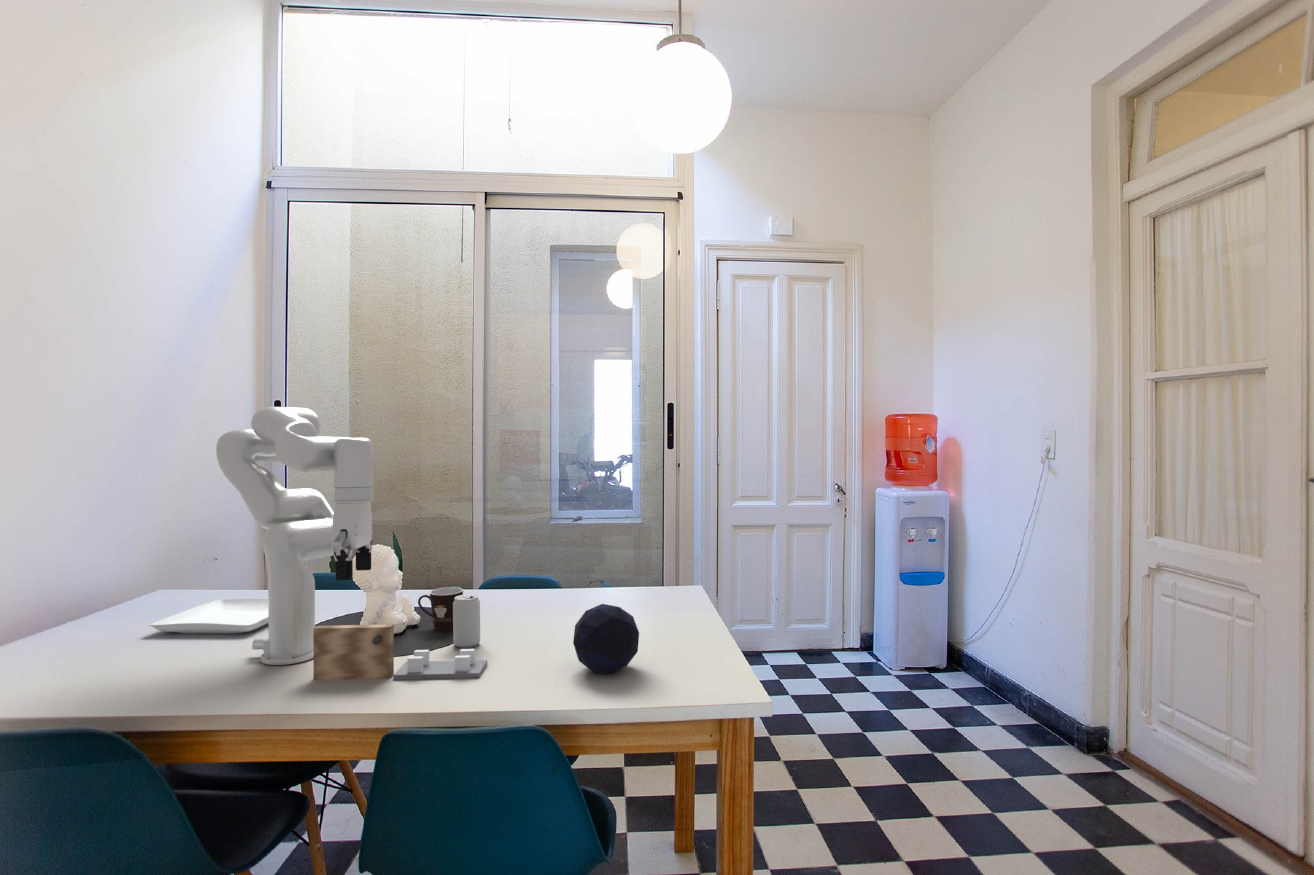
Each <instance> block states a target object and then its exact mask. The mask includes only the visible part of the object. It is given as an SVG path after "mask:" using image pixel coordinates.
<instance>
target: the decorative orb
mask: <svg viewBox="0 0 1314 875" xmlns="http://www.w3.org/2000/svg"><path fill="white" fill-rule="evenodd" d="M639 639H640V632H639V628H638V626H637V623H636V620H635V618H634V616H633V615H632V614H630V613H629V612H627V611H626V610H625V609H623V608H622V607H620V606H616V605H611V604H605V603H601V604H598V605H596V606H594V607H591V608H590V609H587V610H585V611H584V612H583V614H582V615H581V617H580V618H579V619H578V621H577V622H576V623H575V625H574V633H573V642H572V644H573V646H574V649H575V650H574V651H575V654H576V657H577V659H578V662H579V663H580V664H582V665H583V666H585V667H586V668H587V669H588V670H590V671H591V672H592V673H593V672H594V673H599V674H607V675H612V674H614V673H616V672H618V671H620V670H623V668H626V667H628V665H629V664H630V662H631V661H632V660H633V658H634V657H635V656H636V654H638V651H639V641H640V640H639Z"/></svg>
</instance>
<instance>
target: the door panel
mask: <svg viewBox="0 0 1314 875" xmlns="http://www.w3.org/2000/svg"><path fill="white" fill-rule="evenodd" d="M394 625H395V624H347V625H346V624H345V625H344V624H341V625H339V624H337V625H336V624H335V625H317V626H315V628H313V659H312V660H313V681H325V680H326V681H328V680H330V681H331V680H369V679H370V680H373V679H374V680H375V679H378V680H379V679H392V677H393V675H394V674H395V669H394V668H395V667H394V666H395V662H394V658H395V657H394V656H395V653H394V646H395V644H394V642H395V640H394V639H395V638H394V636H395V635H394V632H395V631H394V629H395V626H394Z"/></svg>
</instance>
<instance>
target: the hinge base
mask: <svg viewBox="0 0 1314 875" xmlns="http://www.w3.org/2000/svg"><path fill="white" fill-rule="evenodd" d="M475 656H476V649H475V648H460V650H459V655H455V657H454V660H430V649H416V650H414V651H413V655H412V656H408V657H407V658H406V659H407V661H406V662H404V663H403V664H402V666H400V668H399V669H397V671H396V672H394V675H393V676H392V677H393V681H395V680H396V681H398V680H401V681H402V680H435V679H437V680H439V679H440V680H441V679H442V680H443V679H445V678H446V679H447V678H448V679H478V678H477V677H479V678H480V677H481V676H482V674H483V673H484V671H485V669H486V667H487V666H488V659H478V660H477V659H476V658H475ZM475 677H476V678H475ZM448 679H447V680H448Z"/></svg>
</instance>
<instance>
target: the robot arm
mask: <svg viewBox="0 0 1314 875" xmlns="http://www.w3.org/2000/svg"><path fill="white" fill-rule="evenodd" d="M250 422H251V423H250V425H251V428H244V429H243V428H241V429H235V430H231V431H227V432H225V433H223V434H222V435H221V436H220V437H219V438H218V439H217V442H216V446H215V447H216V448H215V450H216V459H217V462H218V466H219V468H220V470H221V472H222V473H223V475H224V477H225V478H226V479H227V480H228V481H229V482H230V484H232V485H233V486H234V488H235V489H236V490H237V491H238V492H239V494H240V495H241V497H242V500H243V502H244V504H245V505H246V507H247V508H248V510H249V512H250V514H251V516H252V518H253V520H255V522H256V523H257V525H258V526H260V527H261V528H263V529H265V530H266V531H265V532H264V535H263V538H262V546H263V553H264V557H265V563H266V569H267V570H266V571H267V594H268V597H267V598H268V624H267V625H268V627H267V628H268V637H267V638H255V639H253V641H252V646H251V649H252V650H253V651H254V650H262V651H263V653H262V654H261V655H260V662H261V663H262V664H264V665H269V666H270V665H271V666H282V665H283V666H285V665H292V664H298V663H302V662H306V661H310V660H313V628H315V627H316V580H315V577H314V574H313V572H312V571H311V570H310V569H309V567H308V566H307V565H306V564H305V561H310V560H315V559H322V558H326V557H327V558H328V557H332V556H334V562H335V580H336V581H351V580H353V577H354V576H353V574H354V572H353V569H354V566H353V563H354V562H353V560H352V556H353V552H354V551H356V552H355V571H370V570H372V551H373V550H372V549H373V547H372V543H373V516H372V504H371V502H374V485H373V484H374V478H373V477H374V472H373V471H374V470H373V469H374V466H373V463H374V462H373V461H374V458H373V457H374V456H373V455H374V450H373V449H374V446H373V441H372V440H371V439H369V438H368V437H350V436H349V437H348V436H319V433H320V431H321V422H320V419H319V416H318V414H316V412H314V411H313V410H311V409H309V408H306V407H293V406H292V407H291V406H288V407H287V406H267V407H263V408H261V409H260V410H258V411H256V412H255V413H254V414H253V416H252V418H251V421H250ZM258 463H262V464H263V463H281V464H283V465H285V466H286V467H288V468H290V469H291V470H292V469H293V470H294V471H298V472H302V473H313V472H316V473H317V472H333V475H334V476H333V479H334V480H333V487H334V488H333V492H334V493H333V496H334V497H333V499H334V500H333V503H334V508H332V507H331V505H330V503H329V502H328V500H327V499H326V497H325V496H324V494H323V493H322V492H320V491H319V490H317V489H314V488H309V487H308V488H307V487H305V488H304V487H303V488H286V487H284V486H283V485H282V484H281V483H280V480H279V479H278V477H277V476H276V475H275V474H274V473H273V472H271V471H270V470H269V469H267V468H266V467H264V466H262V465H260V464H258Z"/></svg>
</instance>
